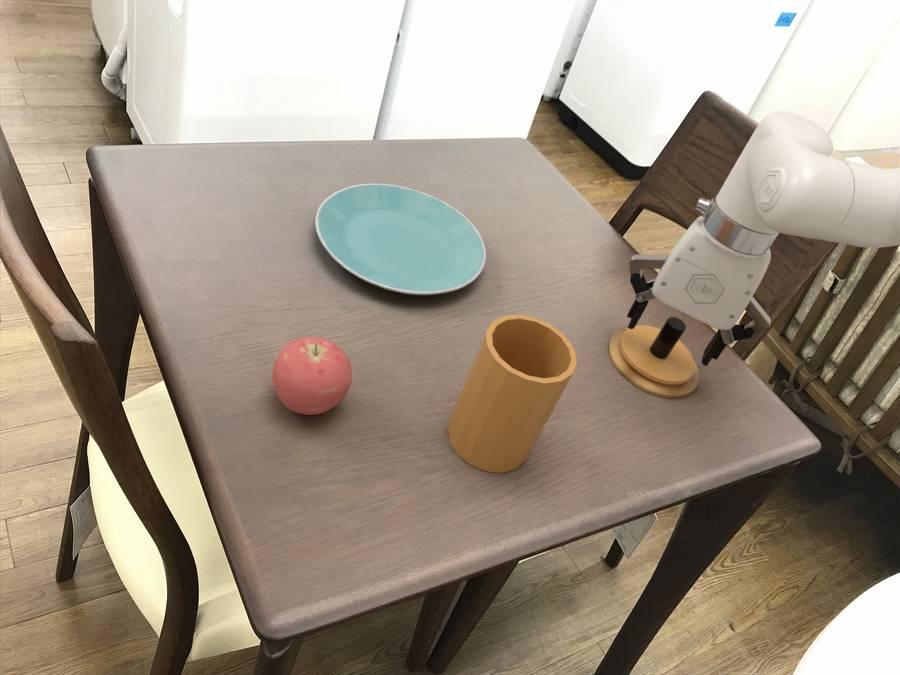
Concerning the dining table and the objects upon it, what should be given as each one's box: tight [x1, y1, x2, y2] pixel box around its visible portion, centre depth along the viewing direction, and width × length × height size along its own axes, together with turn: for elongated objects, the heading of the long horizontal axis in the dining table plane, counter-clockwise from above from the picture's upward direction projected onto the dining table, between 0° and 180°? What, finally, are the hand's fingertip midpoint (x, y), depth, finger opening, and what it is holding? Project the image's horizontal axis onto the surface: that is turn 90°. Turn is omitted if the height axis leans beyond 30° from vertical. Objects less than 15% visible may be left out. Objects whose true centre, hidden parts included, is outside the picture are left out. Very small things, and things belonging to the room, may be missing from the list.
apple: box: [271, 336, 353, 416], centre depth 74 cm, size 7×7×8 cm
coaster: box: [607, 326, 700, 399], centre depth 96 cm, size 12×12×1 cm
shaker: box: [447, 314, 578, 474], centre depth 75 cm, size 9×9×14 cm
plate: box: [314, 182, 487, 296], centre depth 98 cm, size 22×22×3 cm
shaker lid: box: [620, 316, 696, 385], centre depth 94 cm, size 10×10×6 cm
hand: (668, 340), depth 94 cm, fingers open, 9 cm apart
